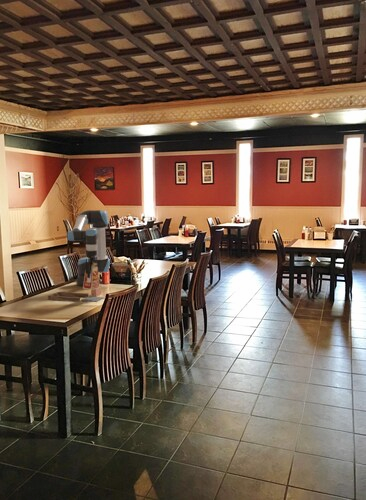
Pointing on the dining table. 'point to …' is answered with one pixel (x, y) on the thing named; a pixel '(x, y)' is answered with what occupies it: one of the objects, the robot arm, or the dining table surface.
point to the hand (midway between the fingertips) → (92, 281)
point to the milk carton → (92, 279)
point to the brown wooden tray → (57, 297)
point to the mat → (92, 299)
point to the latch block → (96, 292)
